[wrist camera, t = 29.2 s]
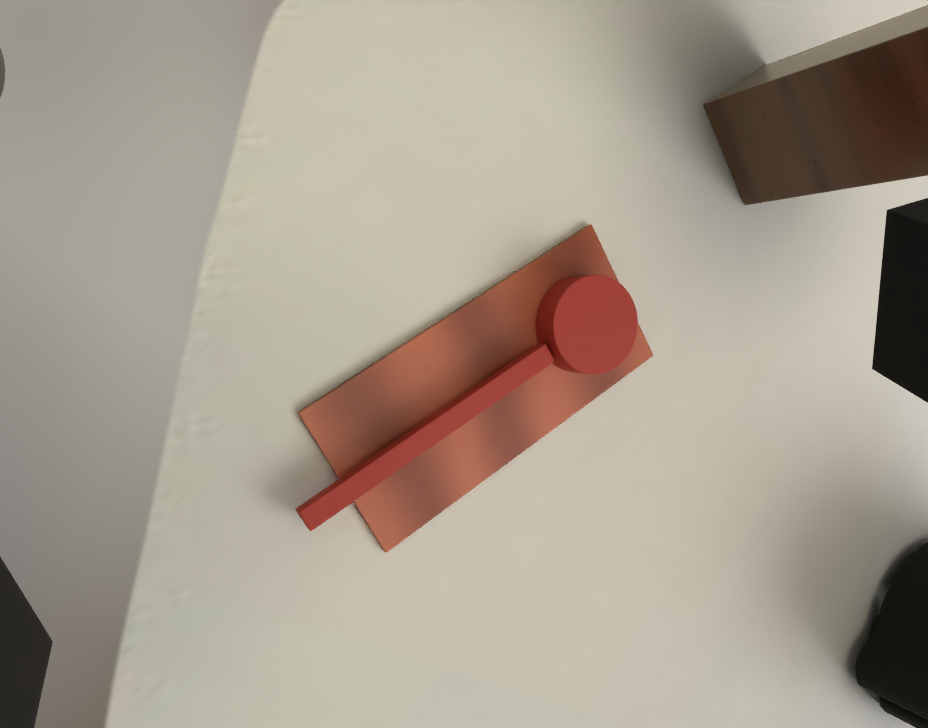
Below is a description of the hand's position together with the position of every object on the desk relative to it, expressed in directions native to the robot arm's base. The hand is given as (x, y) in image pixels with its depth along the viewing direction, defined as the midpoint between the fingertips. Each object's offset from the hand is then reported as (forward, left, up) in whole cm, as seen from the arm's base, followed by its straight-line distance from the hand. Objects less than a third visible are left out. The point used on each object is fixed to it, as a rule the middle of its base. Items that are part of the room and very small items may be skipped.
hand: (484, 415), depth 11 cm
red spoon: (+12, +7, -30) cm, 33 cm away
